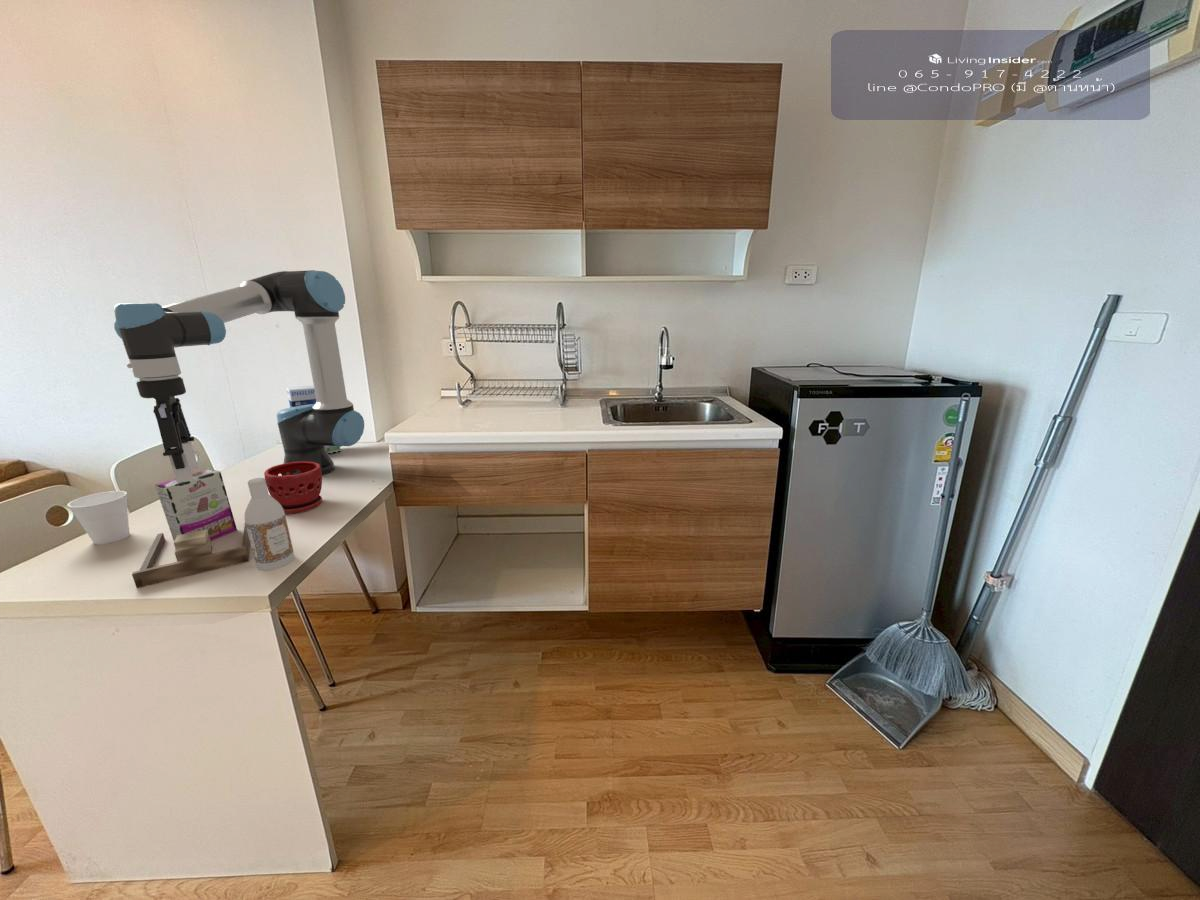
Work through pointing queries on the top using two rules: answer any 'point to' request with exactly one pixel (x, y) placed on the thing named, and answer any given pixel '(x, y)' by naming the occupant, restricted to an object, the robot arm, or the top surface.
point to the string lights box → (306, 397)
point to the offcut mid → (194, 552)
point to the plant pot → (295, 486)
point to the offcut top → (191, 540)
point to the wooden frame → (187, 563)
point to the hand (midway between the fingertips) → (188, 475)
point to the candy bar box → (197, 505)
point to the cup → (103, 516)
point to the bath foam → (267, 528)
